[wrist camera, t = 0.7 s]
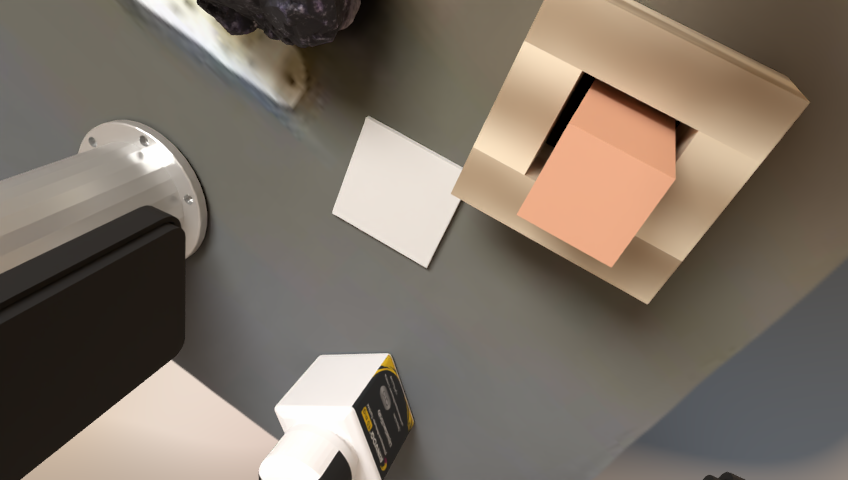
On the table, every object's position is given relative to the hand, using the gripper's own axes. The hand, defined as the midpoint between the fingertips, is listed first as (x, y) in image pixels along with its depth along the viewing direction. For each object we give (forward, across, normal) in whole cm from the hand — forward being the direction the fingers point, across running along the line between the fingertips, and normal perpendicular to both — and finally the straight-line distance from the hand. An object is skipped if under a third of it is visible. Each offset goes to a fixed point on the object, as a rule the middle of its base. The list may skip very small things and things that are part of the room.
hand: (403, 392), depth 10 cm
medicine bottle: (+27, +9, +30) cm, 42 cm away
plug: (+28, -1, +2) cm, 28 cm away
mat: (+27, +10, +12) cm, 31 cm away
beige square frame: (+28, -1, +2) cm, 28 cm away
